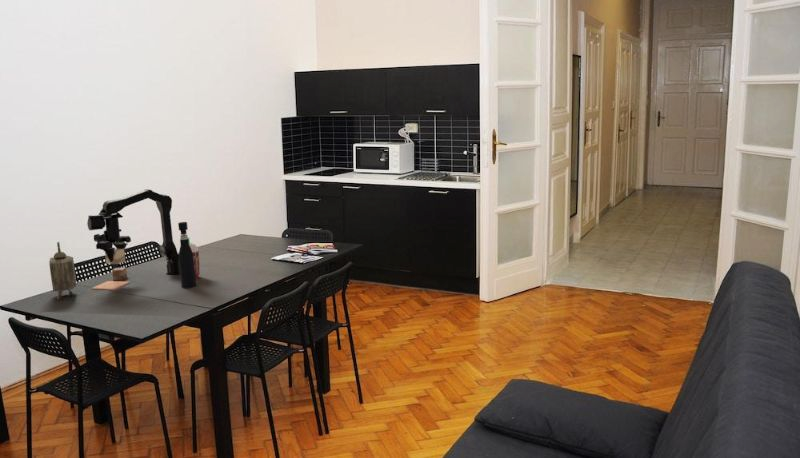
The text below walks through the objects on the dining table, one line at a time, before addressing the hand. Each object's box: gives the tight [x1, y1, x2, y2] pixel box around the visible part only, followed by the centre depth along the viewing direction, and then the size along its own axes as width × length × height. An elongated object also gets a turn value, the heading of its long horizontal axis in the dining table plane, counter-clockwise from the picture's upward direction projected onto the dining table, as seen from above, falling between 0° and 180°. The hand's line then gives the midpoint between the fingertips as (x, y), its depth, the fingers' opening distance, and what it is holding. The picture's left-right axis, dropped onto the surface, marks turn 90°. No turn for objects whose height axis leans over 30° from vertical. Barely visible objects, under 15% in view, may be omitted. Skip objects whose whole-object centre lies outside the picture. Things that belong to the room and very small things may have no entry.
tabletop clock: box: [48, 241, 77, 301], centre depth 312 cm, size 14×9×25 cm, turn 23°
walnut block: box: [111, 267, 128, 281], centre depth 341 cm, size 5×5×5 cm
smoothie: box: [188, 237, 201, 279], centre depth 335 cm, size 8×8×20 cm
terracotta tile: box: [91, 280, 131, 291], centre depth 328 cm, size 12×12×1 cm
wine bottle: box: [177, 221, 197, 289], centre depth 319 cm, size 6×6×30 cm
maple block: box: [104, 248, 126, 265], centre depth 327 cm, size 6×6×6 cm
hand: (115, 260), depth 328 cm, fingers closed on maple block, 6 cm apart
